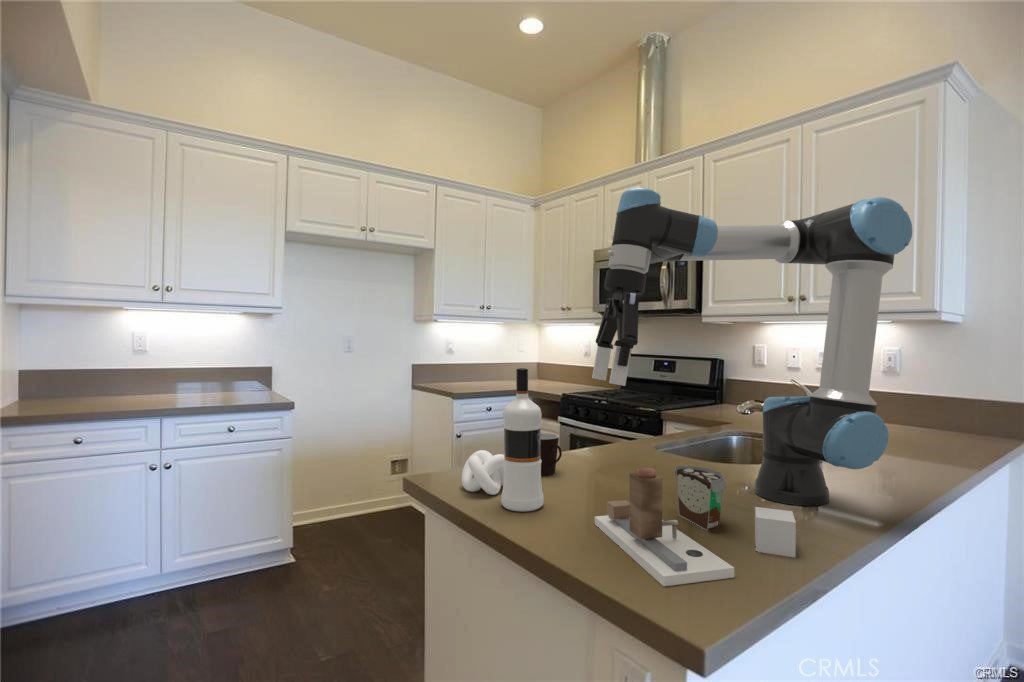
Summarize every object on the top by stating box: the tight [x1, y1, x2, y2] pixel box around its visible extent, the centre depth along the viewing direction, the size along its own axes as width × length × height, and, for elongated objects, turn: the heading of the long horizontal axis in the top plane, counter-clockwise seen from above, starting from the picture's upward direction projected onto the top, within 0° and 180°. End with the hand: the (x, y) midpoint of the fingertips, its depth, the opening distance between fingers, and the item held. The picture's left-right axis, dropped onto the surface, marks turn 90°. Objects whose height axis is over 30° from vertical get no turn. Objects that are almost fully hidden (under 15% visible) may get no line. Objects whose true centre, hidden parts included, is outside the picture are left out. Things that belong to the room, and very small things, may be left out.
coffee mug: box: [541, 432, 563, 477], centre depth 138 cm, size 12×9×10 cm
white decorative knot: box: [461, 449, 504, 496], centre depth 124 cm, size 11×12×9 cm
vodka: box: [500, 367, 545, 513], centre depth 112 cm, size 9×9×30 cm
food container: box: [673, 465, 727, 533], centre depth 103 cm, size 12×6×10 cm, turn 17°
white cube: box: [754, 506, 797, 558], centre depth 90 cm, size 6×6×6 cm
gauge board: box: [594, 499, 735, 587], centre depth 90 cm, size 12×26×5 cm, turn 14°
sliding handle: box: [629, 467, 679, 539], centre depth 89 cm, size 8×4×12 cm, turn 104°
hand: (607, 382), depth 98 cm, fingers open, 13 cm apart
